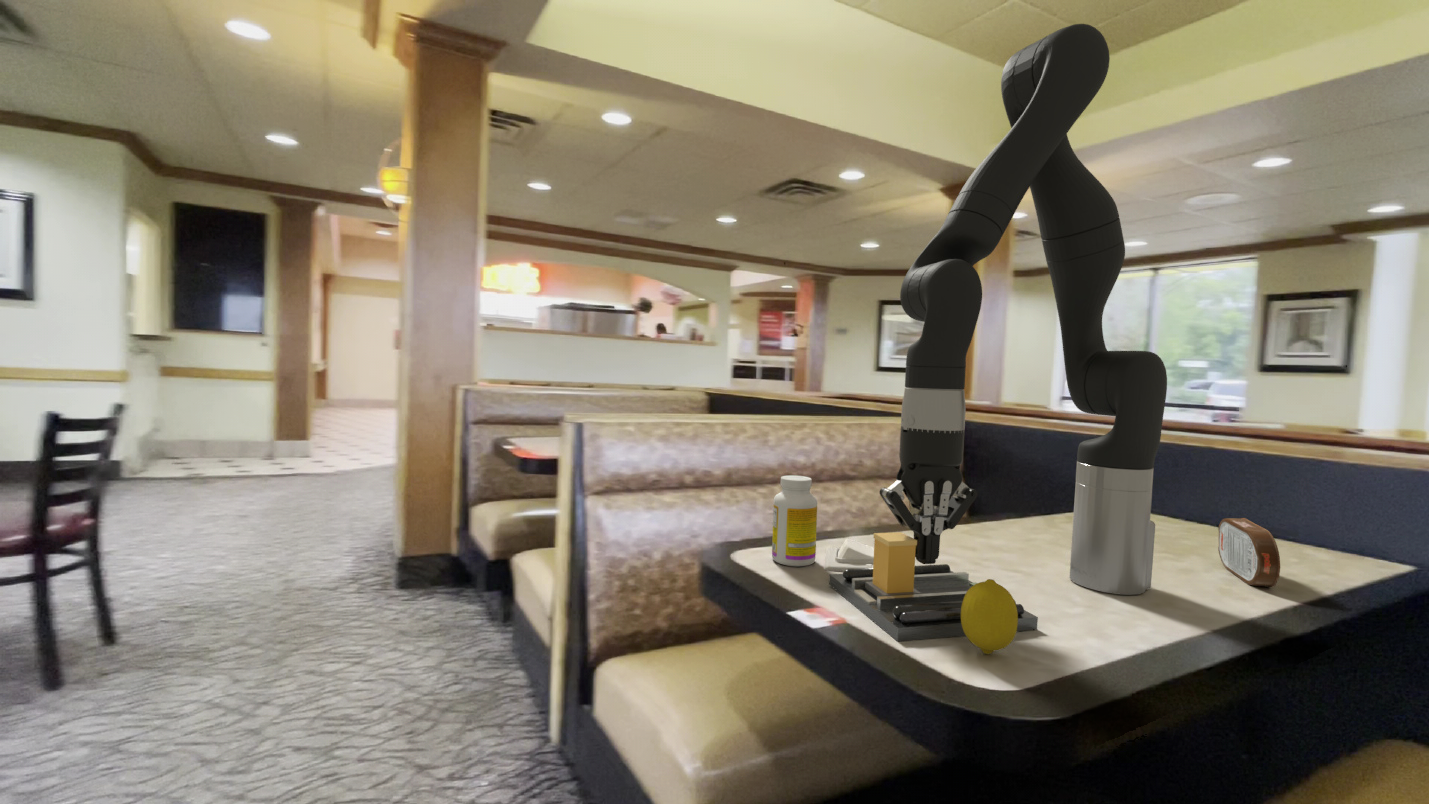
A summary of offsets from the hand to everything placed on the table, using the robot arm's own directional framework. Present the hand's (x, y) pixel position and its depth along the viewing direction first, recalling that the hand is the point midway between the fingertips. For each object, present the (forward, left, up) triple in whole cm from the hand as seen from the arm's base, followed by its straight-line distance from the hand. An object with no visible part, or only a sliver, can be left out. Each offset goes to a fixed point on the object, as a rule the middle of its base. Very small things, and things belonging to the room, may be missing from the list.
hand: (925, 562), depth 80 cm
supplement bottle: (+10, -20, -6) cm, 23 cm away
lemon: (+1, +13, -6) cm, 15 cm away
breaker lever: (+4, 0, -4) cm, 6 cm away
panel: (0, 0, -6) cm, 6 cm away
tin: (-56, -3, -6) cm, 56 cm away
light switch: (-1, -18, -6) cm, 19 cm away
